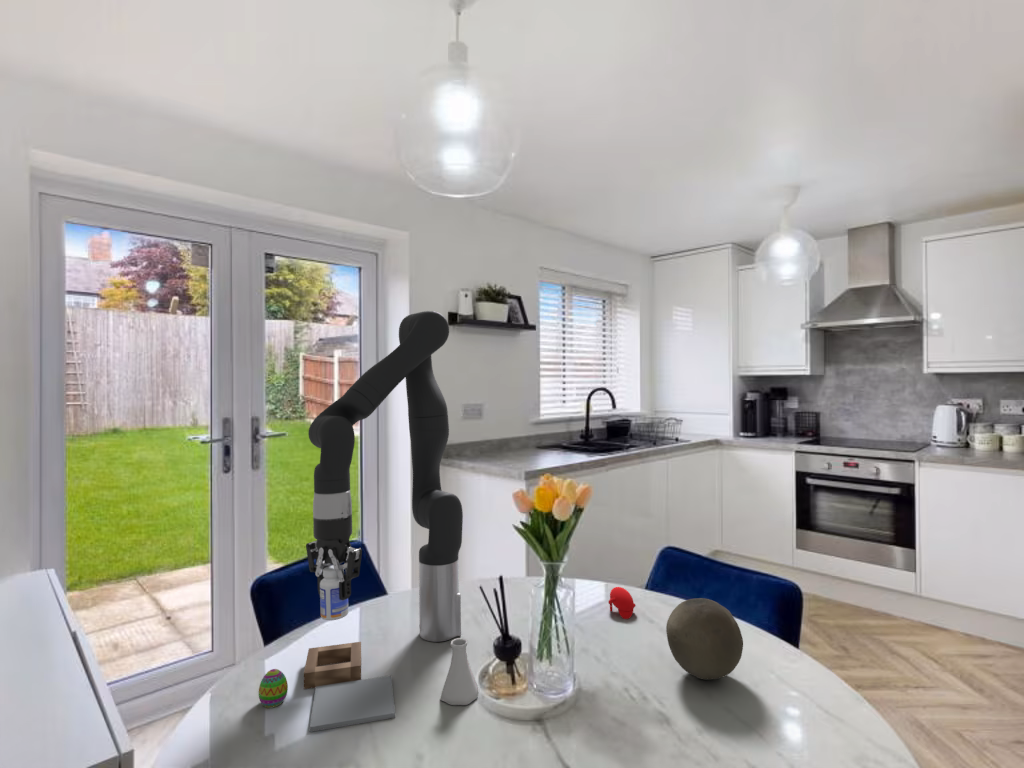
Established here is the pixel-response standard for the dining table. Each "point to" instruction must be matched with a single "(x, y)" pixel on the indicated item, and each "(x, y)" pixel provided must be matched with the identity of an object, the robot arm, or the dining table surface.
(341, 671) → the walnut socket
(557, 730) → the dining table surface
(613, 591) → the red rounded figure
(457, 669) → the flask
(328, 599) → the pill bottle
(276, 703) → the egg
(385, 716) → the slate mat
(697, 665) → the grey river stone
